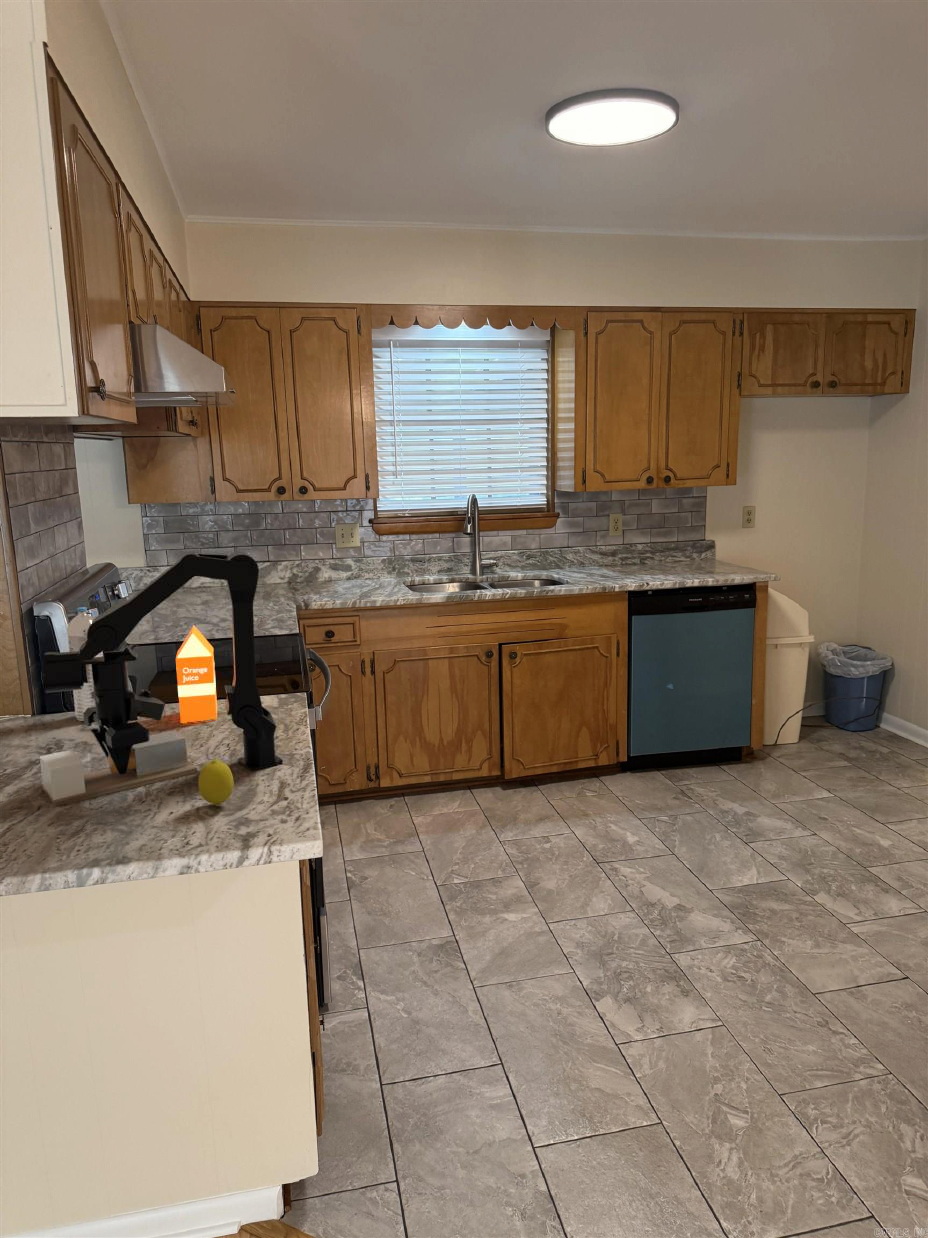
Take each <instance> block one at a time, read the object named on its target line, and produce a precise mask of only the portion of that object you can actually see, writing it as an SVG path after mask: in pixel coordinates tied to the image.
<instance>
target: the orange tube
mask: <svg viewBox="0 0 928 1238" xmlns="http://www.w3.org/2000/svg"><path fill="white" fill-rule="evenodd" d="M186 755H188V749H187V746H186ZM107 762H108V769H110V771H111V773H117V772H118V771H117V769H116V767H115V765H114V763H113V761H112V759H111V757H110V755H109V754H108V759H107ZM135 768H136V767H135V756H134V750H133V749H131V753H130V757H129V762H128V767H127V770H130V769H135Z"/></svg>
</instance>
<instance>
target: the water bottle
mask: <svg viewBox="0 0 928 1238" xmlns="http://www.w3.org/2000/svg"><path fill="white" fill-rule="evenodd" d="M87 609H88V608H87V607H85V606H80V607H77V608H76V611H77V615H75V617H73V618H72V619H71V620H70V622H69V623H68V625H67V626H66V635H67V639H68V649H69V651H68V652H73V651H79V649H80V647H81V645H82V644H84V643H85V642H86V641H87V631H88V628H89V626H90V624H91V622H92V621H93V620H94V619H95V617H93V616H91V615H89V614H87V612H88V611H87ZM79 652H80V651H79ZM103 652H104V651H102V652H101V653H99V654H98V655H97V656H95V657H101V656H104V653H103ZM88 669H89V683H84V686H83V689H80V690H72V695H73V703H74V713H75V718H76V720H77V719H78V720H79V722H80V721H84V717H83V713H84V712H85V711H86V709H87V708H90V707H95V700H94V699H93V698H92V697H91V692H94V686H93V676H92V666H91V664H89V665H88ZM78 720H77V721H78Z"/></svg>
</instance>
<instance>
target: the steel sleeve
mask: <svg viewBox="0 0 928 1238" xmlns="http://www.w3.org/2000/svg"><path fill="white" fill-rule="evenodd" d="M186 743H187V742H186V737H185V736H184V735H181V733H179V732H177V731H176V730H169V731H164V732H161V733H160V732H159V733H155V734H152V735H150V734H149V741H148V742H145V743H140V744H135V745H133V746H132V749H133V750H134V756H135V767H136V768H135V769H130V771H131V772H132V773H133V774H134V775H135V776H136V777H137V778H138V777H142V776H147V775H151V774H155V773H159V772H164V771H168V770H172V769H176V768H180V767H185V766H187V761H188V758H187V757H188V756H187V755H188V754H187V755H186V747H187V744H186Z"/></svg>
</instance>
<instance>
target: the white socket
mask: <svg viewBox="0 0 928 1238" xmlns="http://www.w3.org/2000/svg"><path fill="white" fill-rule="evenodd" d="M39 762H40V764H39V765H40V772H41V773H40V774H41V782H42V784H43V787H44V788H45V789H46V791H47V792H48V793H49V795H50V796H51V797H52V799H53V800H56V799H61V798H65V797H69V796H73V795H77V794H81V793H86V792H85V782H84V774H85V773H84V764H83V761H81V759H80V758H79V757H78V756H77V755H76V754H75V753H74V752H73V751H72V750H71V749H70V750H69V749H68V750H63V751H59V752H54V753H50V754H44V755H40V756H39Z"/></svg>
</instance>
